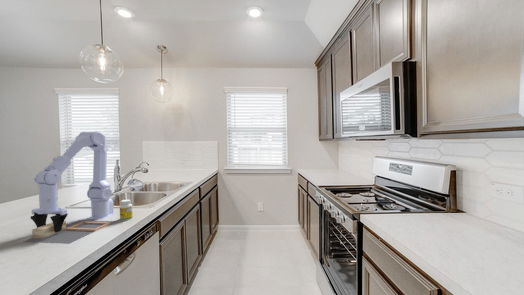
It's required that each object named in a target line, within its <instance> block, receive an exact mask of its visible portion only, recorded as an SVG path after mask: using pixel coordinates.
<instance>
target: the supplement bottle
mask: <svg viewBox="0 0 524 295" xmlns="http://www.w3.org/2000/svg"><path fill="white" fill-rule="evenodd" d="M120 203H121V204H120V205H119V220H120V221H129V220H132V219H133V217H134V216H133V213H134V212H133V204H132V203H131V199H122V200H121V201H120Z"/></svg>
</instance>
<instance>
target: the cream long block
mask: <svg viewBox="0 0 524 295" xmlns="http://www.w3.org/2000/svg"><path fill="white" fill-rule="evenodd" d="M66 225H67V221H66V220H64V222H63V225H62V229H61V231H63V230H65V229H66ZM59 232H60V231H59ZM55 233H58V232H55V231H54V225H53V222H50V223H46V225H44V226H41V227H38V228H37V227H35V228H34V229H32V230H31V238H38V239H43V238H45V237H48V236H50V235H53V234H55Z"/></svg>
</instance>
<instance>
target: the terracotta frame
mask: <svg viewBox="0 0 524 295" xmlns="http://www.w3.org/2000/svg"><path fill="white" fill-rule="evenodd" d="M82 224H104V225H102V226H100V227H98V228H95V229H89V228H74V227H77V226H79V225H82ZM110 225H112V224H111V222H84V221H83V222H81V223H78V224H76V225H73V226H71V227H68V228H66V230H72V231H95V232H98V231H100V230H102V229H103V227H104V228H105V226H106V227H107V226H110ZM101 228H102V229H101Z"/></svg>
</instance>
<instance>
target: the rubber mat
mask: <svg viewBox="0 0 524 295" xmlns="http://www.w3.org/2000/svg"><path fill="white" fill-rule="evenodd" d="M83 221H84V222H111V224H110V225H113V224H114V223H116V222H117V221H115V220H93V219H87V220H86V219H78V220H76V221H74V222H71V223H68V224H66V228H68V227H71V226H73V225H76V224H78V223H81V222H83ZM102 225H104V224H82V225H79V226H77V227H74V228H89V229H95V228H98V227H100V226H102ZM105 227H107V226H105ZM105 227H103V228H105ZM103 228H101V229H100V230H102V229H103ZM95 232H96V231H72V230H66V229H65V230H63V231H60V232H58V233H55V234H53V235H50V236H48V237H45V238H43V239H38V238H32V237H30V238H29V239H26V240H23V241H22V242H23V243H43V244H44V243H45V244H46V243H47V244H64V245H65V244H66V245H67V244H68V245H69V244H72V243H74V242H76V241H79V240H80V239H82V238H84V237H86V236H89V235H91V234H92V233H95Z"/></svg>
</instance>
